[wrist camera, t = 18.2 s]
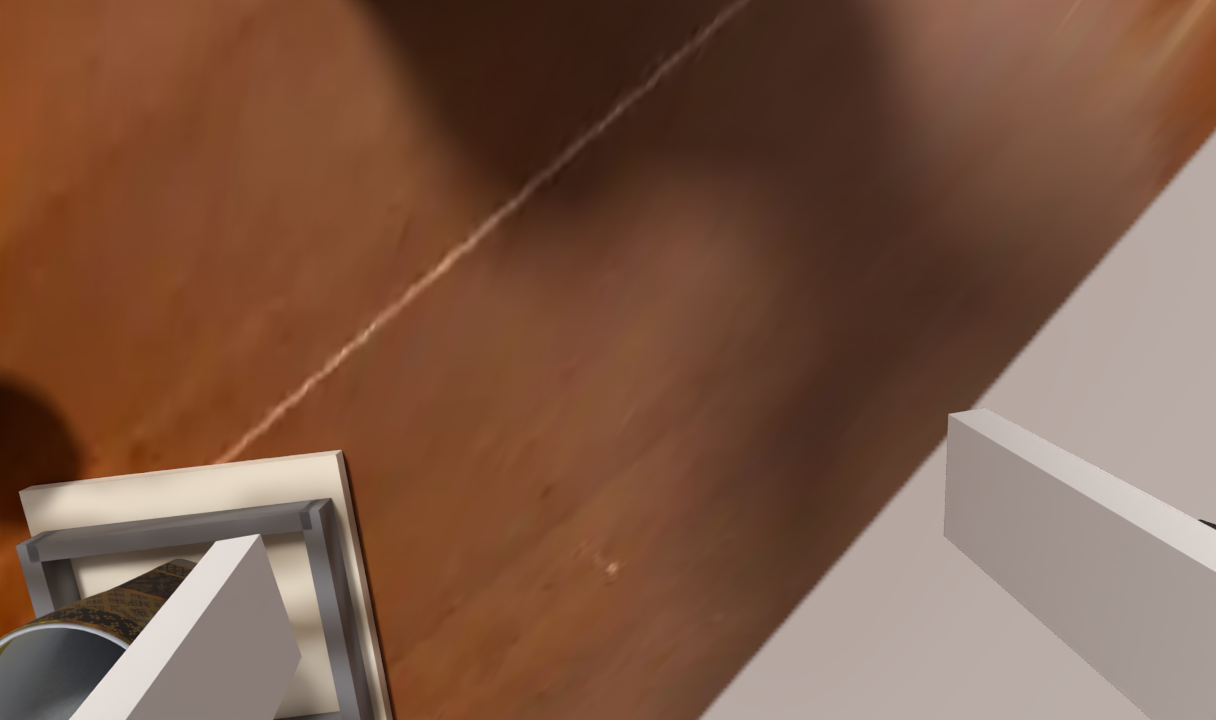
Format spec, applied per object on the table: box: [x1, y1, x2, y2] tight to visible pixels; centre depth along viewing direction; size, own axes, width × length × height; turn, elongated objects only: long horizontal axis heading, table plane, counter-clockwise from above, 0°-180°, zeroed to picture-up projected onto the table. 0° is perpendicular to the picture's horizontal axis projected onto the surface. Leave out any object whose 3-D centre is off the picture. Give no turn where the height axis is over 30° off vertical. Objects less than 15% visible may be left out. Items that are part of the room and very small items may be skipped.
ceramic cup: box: [0, 559, 198, 720], centre depth 37 cm, size 13×10×10 cm
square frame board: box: [16, 450, 393, 720], centre depth 42 cm, size 22×20×3 cm
